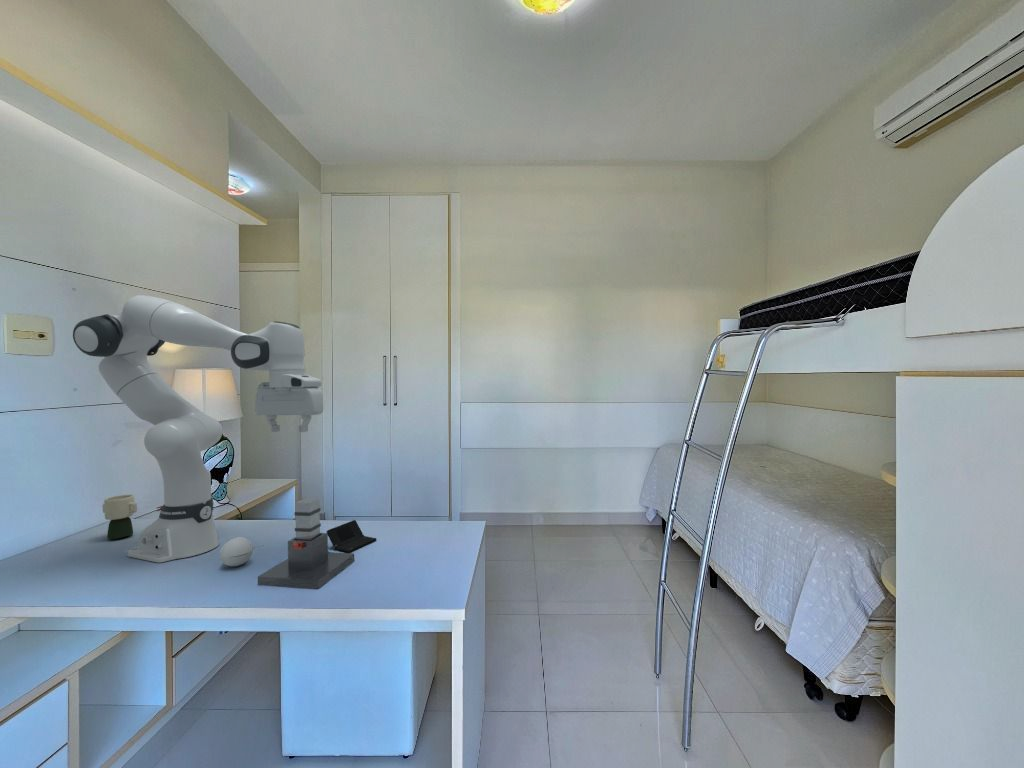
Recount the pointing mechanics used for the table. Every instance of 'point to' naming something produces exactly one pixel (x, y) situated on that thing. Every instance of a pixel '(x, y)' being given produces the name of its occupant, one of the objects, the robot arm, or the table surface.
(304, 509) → the column
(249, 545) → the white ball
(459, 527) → the table surface
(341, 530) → the handheld gaming console
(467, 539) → the table surface
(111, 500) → the character mug
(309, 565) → the stand base
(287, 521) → the table surface
